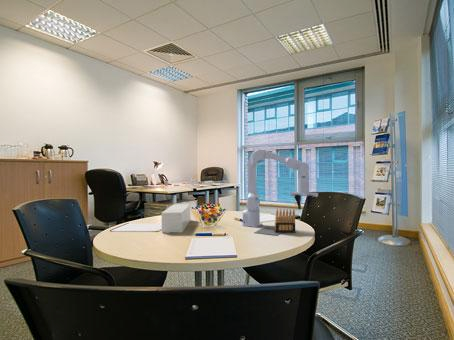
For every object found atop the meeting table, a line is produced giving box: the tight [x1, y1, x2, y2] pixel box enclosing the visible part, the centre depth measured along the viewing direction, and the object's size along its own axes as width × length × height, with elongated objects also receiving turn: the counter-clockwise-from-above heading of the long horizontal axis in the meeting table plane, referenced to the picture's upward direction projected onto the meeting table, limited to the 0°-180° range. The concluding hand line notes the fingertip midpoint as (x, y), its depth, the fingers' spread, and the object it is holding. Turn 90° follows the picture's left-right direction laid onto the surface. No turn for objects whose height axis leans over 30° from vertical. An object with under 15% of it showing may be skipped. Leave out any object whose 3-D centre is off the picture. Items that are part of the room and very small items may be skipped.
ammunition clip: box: [274, 208, 296, 234], centre depth 133 cm, size 11×2×12 cm, turn 97°
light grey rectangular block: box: [161, 203, 191, 234], centre depth 151 cm, size 32×11×11 cm, turn 0°
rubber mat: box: [254, 225, 281, 237], centre depth 137 cm, size 12×16×1 cm
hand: (303, 209), depth 142 cm, fingers open, 4 cm apart
